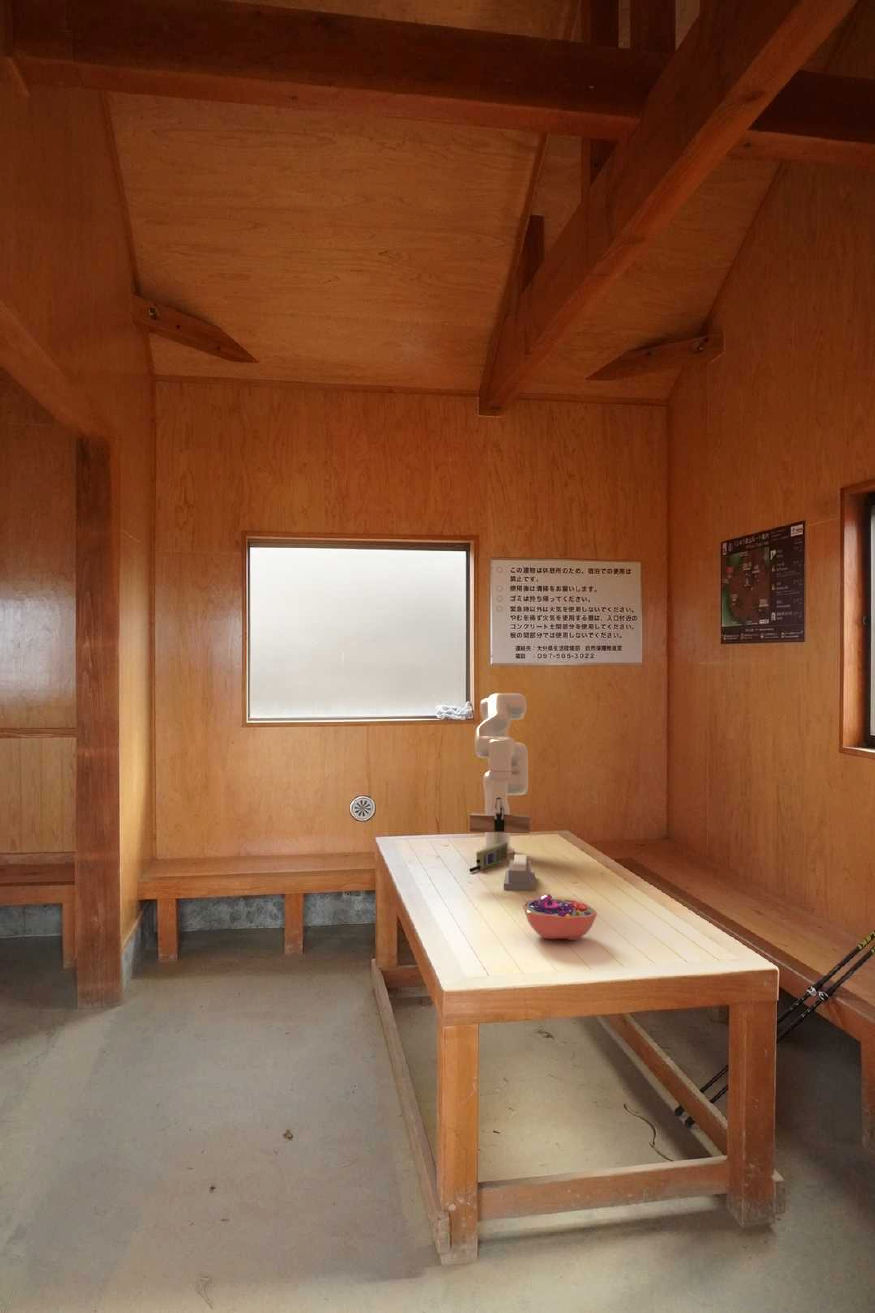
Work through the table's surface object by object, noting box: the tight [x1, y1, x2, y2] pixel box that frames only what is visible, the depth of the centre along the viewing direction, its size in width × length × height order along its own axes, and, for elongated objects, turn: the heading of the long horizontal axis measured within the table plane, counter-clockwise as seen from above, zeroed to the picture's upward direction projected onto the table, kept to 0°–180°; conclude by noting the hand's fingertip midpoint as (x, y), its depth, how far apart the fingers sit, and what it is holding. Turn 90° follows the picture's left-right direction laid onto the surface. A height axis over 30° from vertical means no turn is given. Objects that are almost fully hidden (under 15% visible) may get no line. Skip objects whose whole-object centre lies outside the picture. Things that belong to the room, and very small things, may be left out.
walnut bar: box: [469, 812, 531, 834], centre depth 279 cm, size 4×20×6 cm, turn 81°
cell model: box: [522, 893, 598, 941], centre depth 222 cm, size 17×20×11 cm
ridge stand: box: [503, 854, 536, 892], centre depth 276 cm, size 16×10×8 cm, turn 173°
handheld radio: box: [469, 842, 509, 873], centre depth 300 cm, size 7×3×25 cm
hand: (499, 829), depth 279 cm, fingers closed on walnut bar, 3 cm apart
